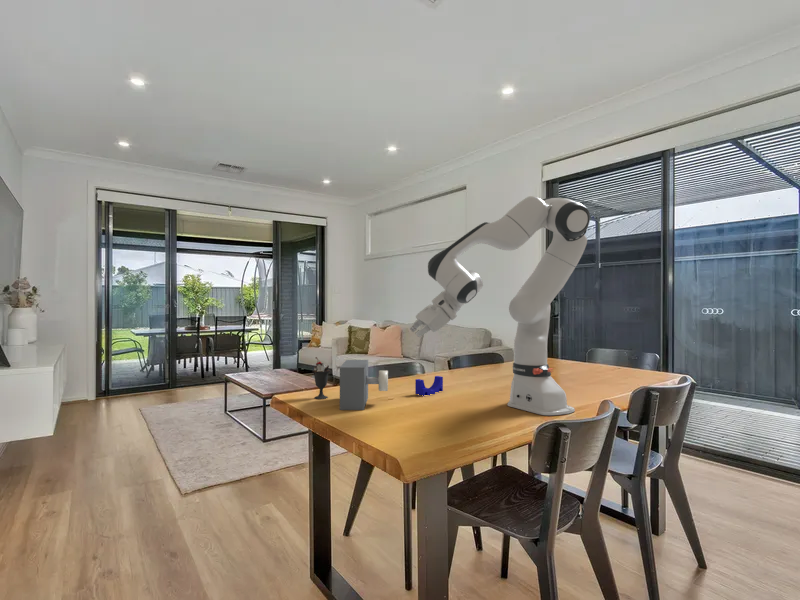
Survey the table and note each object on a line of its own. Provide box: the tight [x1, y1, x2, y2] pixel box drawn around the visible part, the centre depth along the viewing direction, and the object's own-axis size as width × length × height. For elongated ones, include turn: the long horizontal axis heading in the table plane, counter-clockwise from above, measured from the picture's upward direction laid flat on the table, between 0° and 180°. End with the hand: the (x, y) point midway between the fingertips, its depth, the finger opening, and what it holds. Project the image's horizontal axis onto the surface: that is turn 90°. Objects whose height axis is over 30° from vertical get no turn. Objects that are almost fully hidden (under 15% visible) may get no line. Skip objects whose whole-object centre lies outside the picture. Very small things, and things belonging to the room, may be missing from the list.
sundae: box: [311, 356, 331, 400], centre depth 159 cm, size 7×7×15 cm
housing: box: [339, 359, 369, 411], centre depth 150 cm, size 8×18×14 cm, turn 0°
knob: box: [366, 370, 389, 392], centre depth 150 cm, size 9×7×7 cm
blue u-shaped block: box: [414, 375, 444, 397], centre depth 167 cm, size 12×4×6 cm, turn 131°
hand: (413, 332), depth 150 cm, fingers open, 8 cm apart
